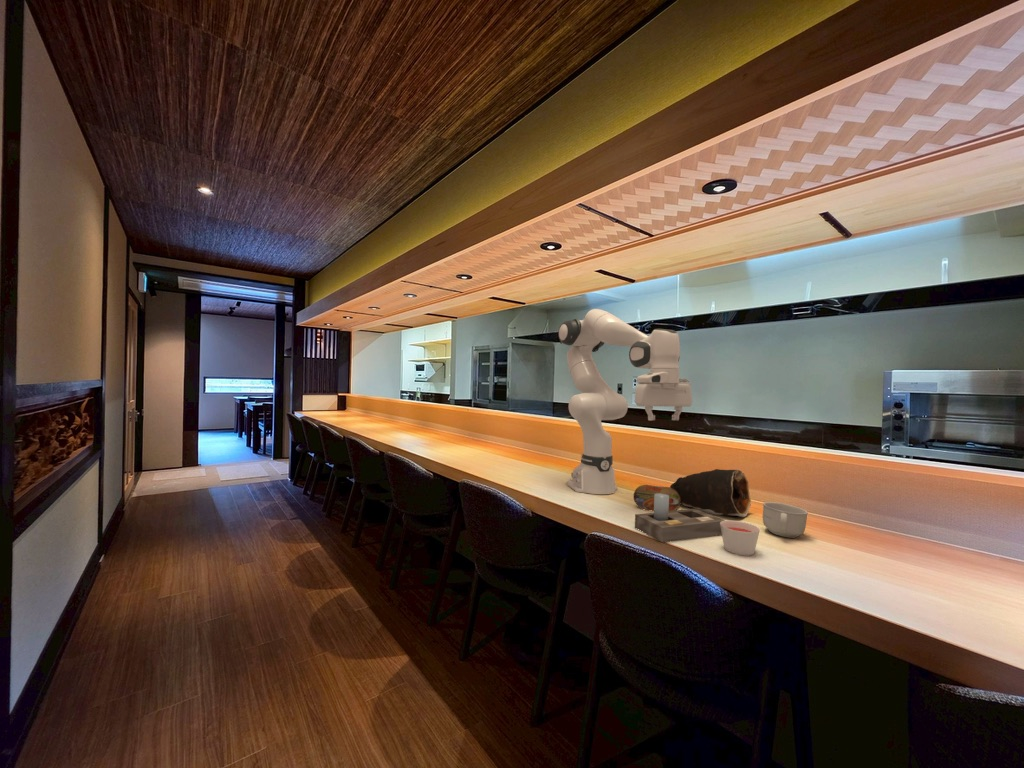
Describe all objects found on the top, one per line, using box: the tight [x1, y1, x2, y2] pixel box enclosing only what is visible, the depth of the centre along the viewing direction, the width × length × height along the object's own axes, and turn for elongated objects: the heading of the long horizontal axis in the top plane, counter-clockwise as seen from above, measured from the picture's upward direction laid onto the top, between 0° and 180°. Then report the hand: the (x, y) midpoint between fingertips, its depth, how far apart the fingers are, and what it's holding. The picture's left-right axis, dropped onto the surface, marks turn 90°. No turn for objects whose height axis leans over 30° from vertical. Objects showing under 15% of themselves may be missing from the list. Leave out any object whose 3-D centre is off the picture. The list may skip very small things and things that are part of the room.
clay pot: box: [669, 468, 752, 518], centre depth 145 cm, size 15×15×25 cm
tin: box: [633, 484, 681, 512], centre depth 141 cm, size 15×3×8 cm, turn 62°
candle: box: [720, 519, 761, 556], centre depth 108 cm, size 9×9×6 cm
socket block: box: [634, 508, 726, 543], centre depth 121 cm, size 12×22×4 cm, turn 109°
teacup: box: [762, 501, 809, 539], centre depth 120 cm, size 14×11×8 cm
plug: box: [653, 493, 669, 521], centre depth 121 cm, size 4×4×10 cm
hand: (663, 420), depth 136 cm, fingers open, 8 cm apart
